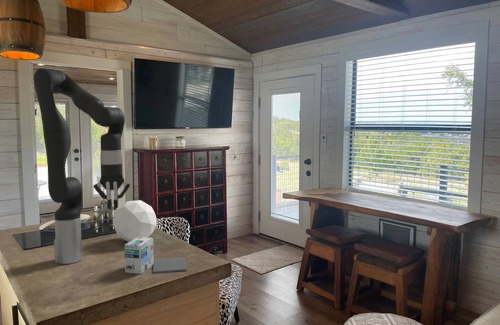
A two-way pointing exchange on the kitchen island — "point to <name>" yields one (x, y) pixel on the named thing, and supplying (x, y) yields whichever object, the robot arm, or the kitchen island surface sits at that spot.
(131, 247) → the light bulb box
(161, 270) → the mat
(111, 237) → the kitchen island surface
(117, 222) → the ball
